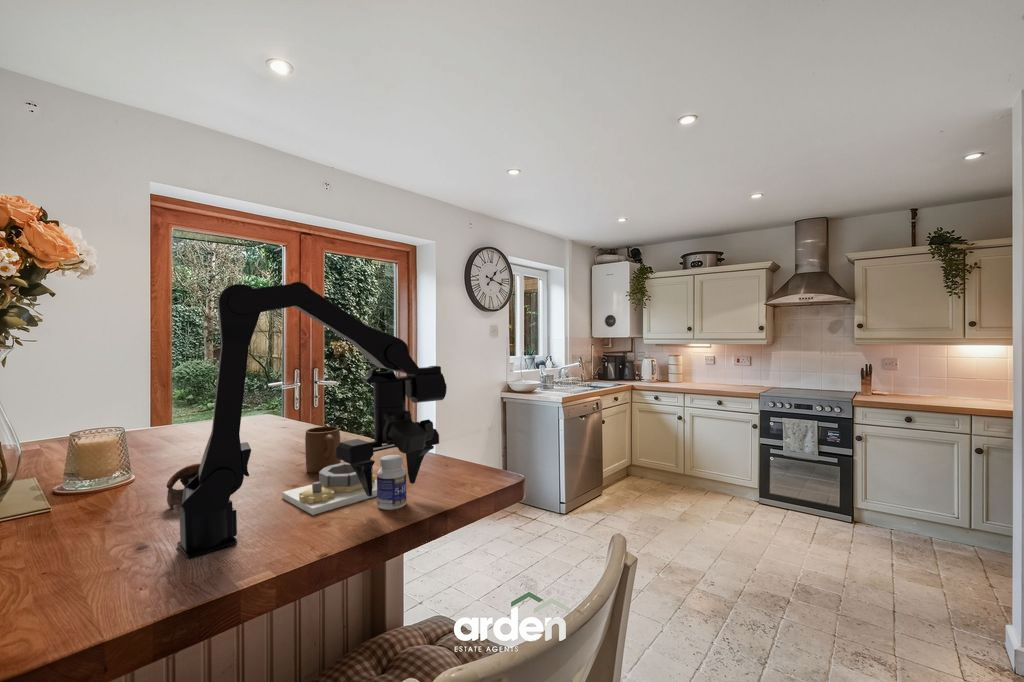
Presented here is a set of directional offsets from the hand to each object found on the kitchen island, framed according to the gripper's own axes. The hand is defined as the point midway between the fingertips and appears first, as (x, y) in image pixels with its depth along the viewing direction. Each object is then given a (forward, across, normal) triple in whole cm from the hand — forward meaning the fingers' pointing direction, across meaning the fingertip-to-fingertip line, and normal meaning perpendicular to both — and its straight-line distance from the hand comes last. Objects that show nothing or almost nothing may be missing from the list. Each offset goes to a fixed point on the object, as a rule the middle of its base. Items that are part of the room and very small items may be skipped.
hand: (391, 489), depth 88 cm
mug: (+3, +2, +30) cm, 30 cm away
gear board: (+3, -4, +13) cm, 14 cm away
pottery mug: (+3, -23, +31) cm, 39 cm away
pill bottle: (+3, 0, 0) cm, 3 cm away
